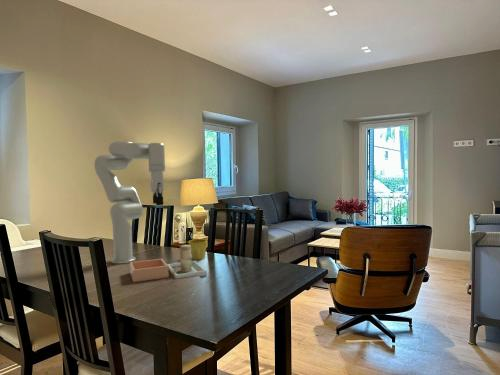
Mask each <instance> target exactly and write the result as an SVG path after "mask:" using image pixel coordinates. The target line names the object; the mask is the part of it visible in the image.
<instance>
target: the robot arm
mask: <svg viewBox="0 0 500 375" xmlns="http://www.w3.org/2000/svg"><path fill="white" fill-rule="evenodd" d="M108 151H109V154H103V155H102V154H101V155H98V156H97V157H96V158H95V160H94V171H95V173H96V176H97V177H98V178H99V180H100V182H101V184H102V186H103V189H104V192H105V194H106V197H107V200H108V201H109V202H110V203H111V204H113V205H112V206H111V207H110V210H109V213H110V218H111V219H110V220H111V223H112V224H111V225H112V244H113V258H111V259H110V263H112V264H117V265H118V264H119V265H121V264H128V263H129V264H130V262H136V257H135V256H133V236H132V235H133V232H132V226H131V224H130V223H129V220H136V219H139V218H141V217H142V216H143V214H144V208H143V204H142V202H141V199H140V196H139V193H138V192H137V190H136V188H135V187H134V186H133V185H131V184H130V185H129V184H125V185H122V184H121V183H120V181H119V179H118V176H116V174H115V173H114V172H112V171H123V170H126V169H127V168H128V167H129V165H131V163H132V161H133V160H134V159H136V160H137V159H140V160H142V159H143V160H144V159H145V160H148V172H149V173H150V192H151V193H152V204H155V205H156V206H163V205H164V196H163V195H164V190H165V188H164V186H165V185H164V172H166V162H165V161H166V158H165V145H164V143H162V142H150V143H145V142H144V143H143V142H142V143H141V142H132V141H123V140H120V141H118V140H116V141H113V142H111V143H110V144H109V146H108Z"/></svg>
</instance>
